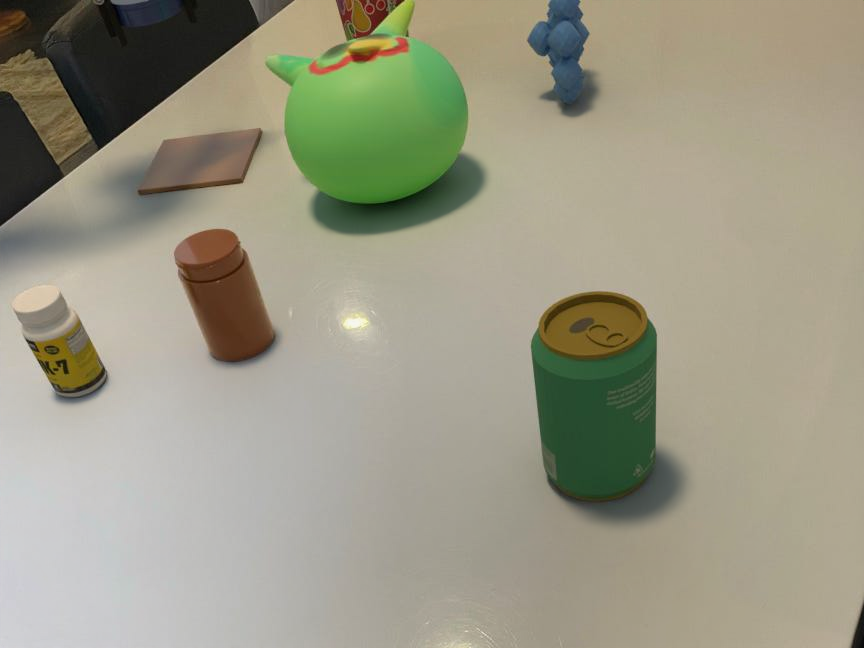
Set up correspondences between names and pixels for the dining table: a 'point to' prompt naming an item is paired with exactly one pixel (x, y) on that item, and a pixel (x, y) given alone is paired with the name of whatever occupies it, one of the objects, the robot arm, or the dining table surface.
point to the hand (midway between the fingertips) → (156, 29)
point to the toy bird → (374, 114)
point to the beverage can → (596, 394)
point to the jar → (224, 294)
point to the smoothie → (364, 15)
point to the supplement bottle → (59, 341)
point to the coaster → (201, 161)
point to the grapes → (562, 46)
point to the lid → (145, 11)
